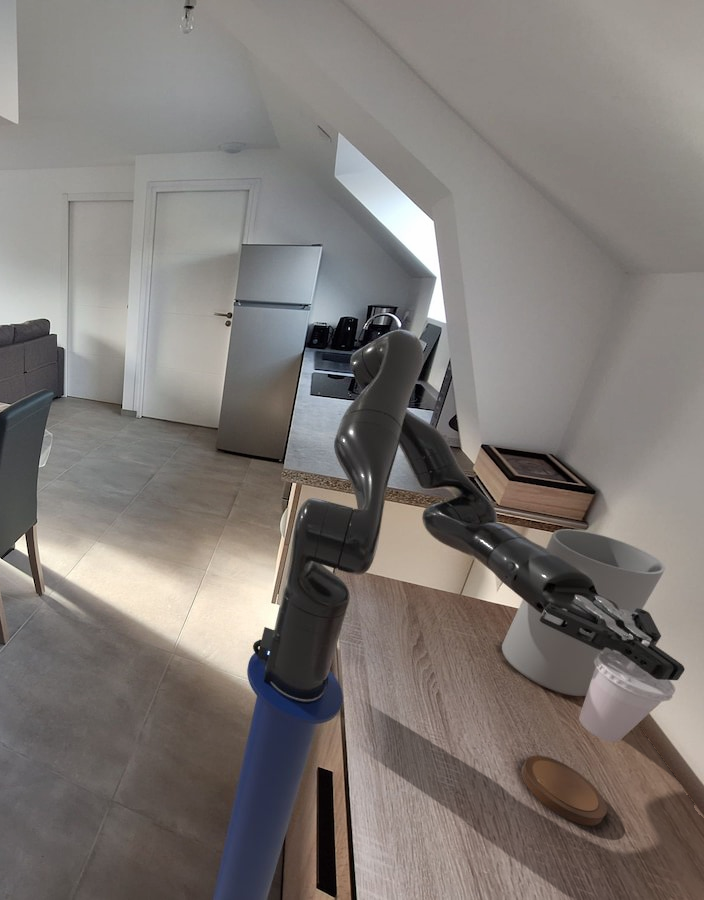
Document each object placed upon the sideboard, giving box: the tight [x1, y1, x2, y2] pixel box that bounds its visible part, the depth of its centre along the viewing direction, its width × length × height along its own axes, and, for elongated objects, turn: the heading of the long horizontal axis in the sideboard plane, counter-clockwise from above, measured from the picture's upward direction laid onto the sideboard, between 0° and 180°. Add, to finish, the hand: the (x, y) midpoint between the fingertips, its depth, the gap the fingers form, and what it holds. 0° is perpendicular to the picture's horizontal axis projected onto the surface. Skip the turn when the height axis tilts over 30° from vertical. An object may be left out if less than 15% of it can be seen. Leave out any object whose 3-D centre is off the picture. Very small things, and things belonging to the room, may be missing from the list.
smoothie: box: [578, 640, 676, 743], centre depth 55 cm, size 6×6×14 cm
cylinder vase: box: [501, 528, 666, 697], centre depth 77 cm, size 12×12×25 cm
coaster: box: [520, 755, 608, 827], centre depth 61 cm, size 8×8×2 cm
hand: (672, 674), depth 50 cm, fingers closed on smoothie, 1 cm apart
